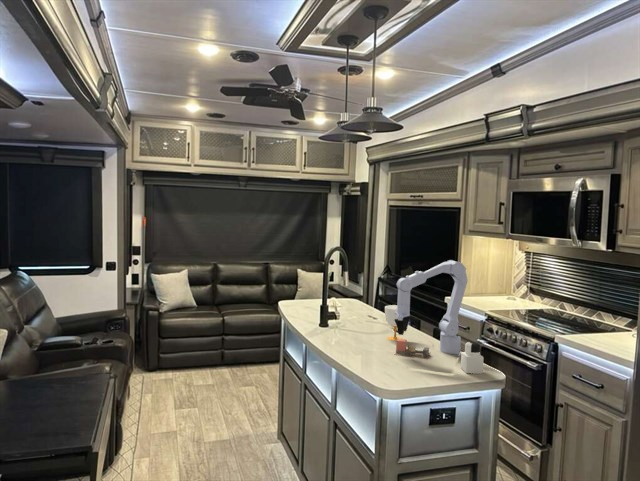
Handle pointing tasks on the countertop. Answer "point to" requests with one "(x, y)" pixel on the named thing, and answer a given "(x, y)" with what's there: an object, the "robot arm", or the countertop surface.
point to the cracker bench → (416, 354)
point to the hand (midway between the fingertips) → (402, 332)
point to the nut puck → (411, 349)
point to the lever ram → (401, 345)
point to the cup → (391, 319)
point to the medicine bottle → (472, 359)
